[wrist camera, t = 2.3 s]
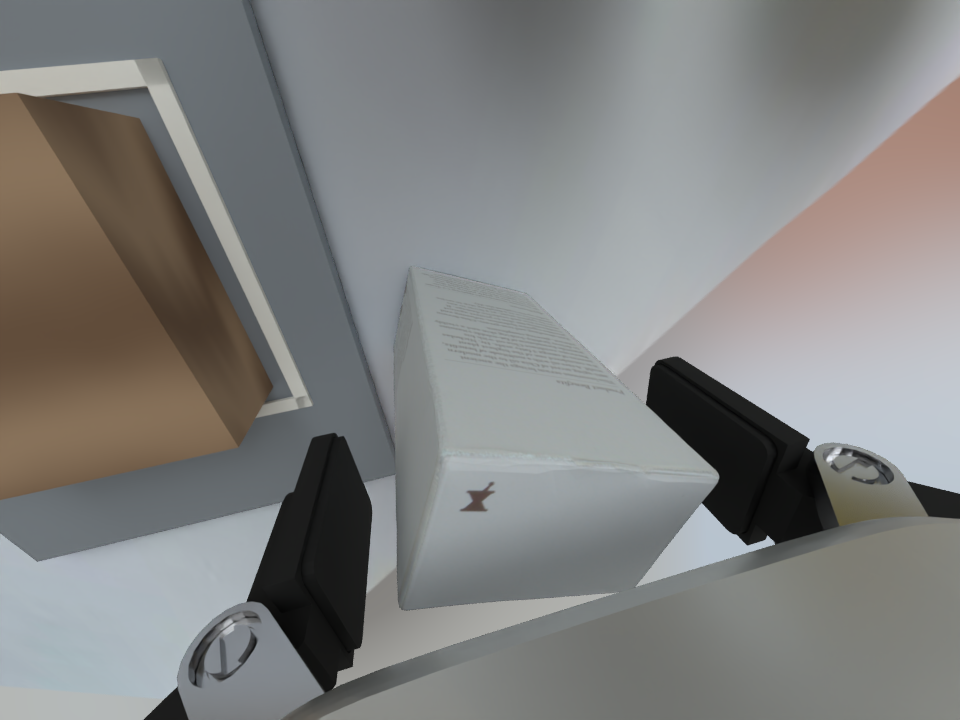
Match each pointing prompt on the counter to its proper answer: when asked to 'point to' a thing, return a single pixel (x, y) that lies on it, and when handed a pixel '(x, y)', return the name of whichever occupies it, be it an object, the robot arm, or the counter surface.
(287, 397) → the grey rectangular mat
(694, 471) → the skincare box
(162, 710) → the robot arm
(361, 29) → the counter surface
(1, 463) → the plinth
